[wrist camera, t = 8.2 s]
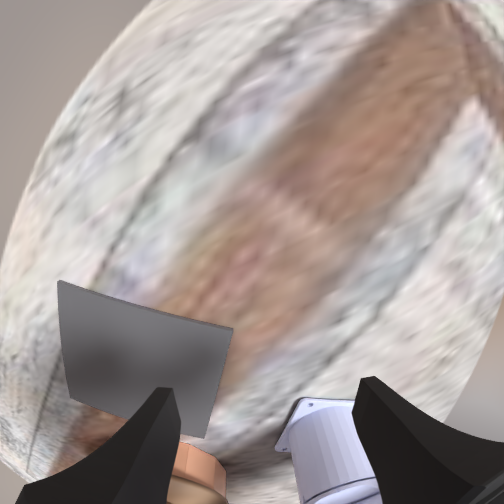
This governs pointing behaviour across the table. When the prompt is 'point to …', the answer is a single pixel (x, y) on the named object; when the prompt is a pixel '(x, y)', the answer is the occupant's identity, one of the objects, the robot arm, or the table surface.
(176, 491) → the lid
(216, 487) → the bowl
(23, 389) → the table surface
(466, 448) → the robot arm
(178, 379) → the mat
